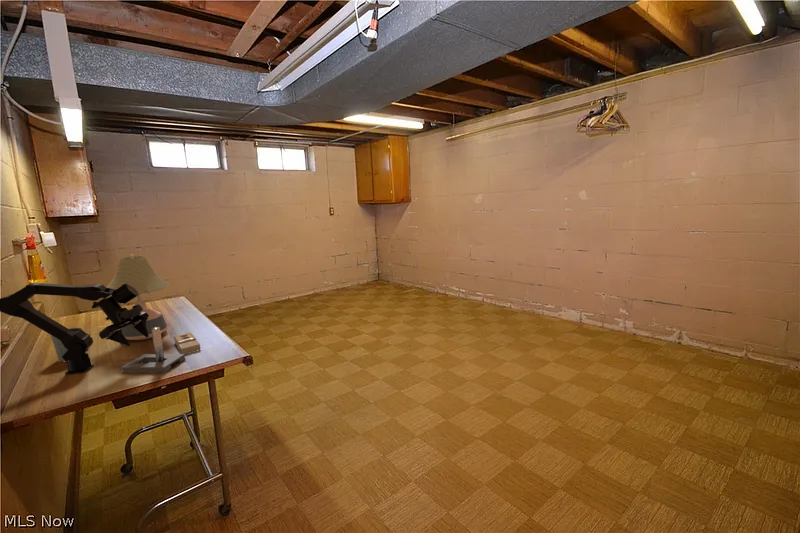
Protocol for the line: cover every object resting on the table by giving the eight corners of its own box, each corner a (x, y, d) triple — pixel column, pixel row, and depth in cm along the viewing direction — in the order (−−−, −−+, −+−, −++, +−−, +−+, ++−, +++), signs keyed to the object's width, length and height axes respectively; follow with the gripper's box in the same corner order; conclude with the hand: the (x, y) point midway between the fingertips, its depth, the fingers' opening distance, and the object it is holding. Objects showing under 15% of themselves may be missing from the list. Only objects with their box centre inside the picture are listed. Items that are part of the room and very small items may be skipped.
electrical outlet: (181, 346, 154) (173, 335, 167) (182, 355, 155) (175, 344, 168) (199, 342, 158) (190, 331, 172) (200, 350, 159) (192, 339, 173)
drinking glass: (54, 364, 149) (48, 337, 146) (58, 356, 157) (53, 331, 154) (86, 358, 154) (80, 331, 152) (88, 350, 162) (83, 325, 160)
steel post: (151, 368, 142) (145, 330, 139) (158, 363, 147) (152, 326, 144) (164, 368, 142) (158, 330, 139) (170, 362, 147) (165, 326, 144)
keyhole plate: (121, 372, 139) (120, 367, 139) (145, 359, 151) (144, 354, 151) (165, 372, 138) (164, 367, 138) (185, 359, 150) (184, 354, 149)
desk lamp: (124, 350, 161) (107, 260, 153) (105, 338, 178) (89, 256, 170) (185, 333, 181) (173, 253, 173) (163, 323, 198) (151, 249, 190)
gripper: (105, 307, 133) (132, 340, 135) (145, 293, 151) (169, 322, 153) (86, 322, 135) (113, 354, 137) (128, 307, 153) (151, 336, 155)
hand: (138, 341), depth 145 cm, fingers open, 9 cm apart
